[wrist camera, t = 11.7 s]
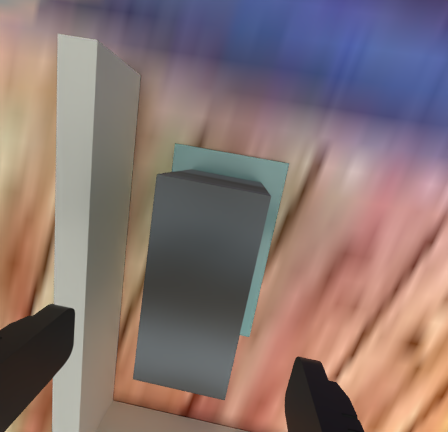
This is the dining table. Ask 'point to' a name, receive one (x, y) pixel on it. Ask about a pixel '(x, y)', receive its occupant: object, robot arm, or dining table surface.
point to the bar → (198, 279)
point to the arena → (96, 238)
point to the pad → (250, 170)
